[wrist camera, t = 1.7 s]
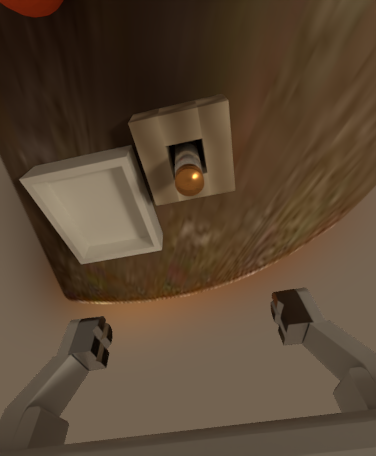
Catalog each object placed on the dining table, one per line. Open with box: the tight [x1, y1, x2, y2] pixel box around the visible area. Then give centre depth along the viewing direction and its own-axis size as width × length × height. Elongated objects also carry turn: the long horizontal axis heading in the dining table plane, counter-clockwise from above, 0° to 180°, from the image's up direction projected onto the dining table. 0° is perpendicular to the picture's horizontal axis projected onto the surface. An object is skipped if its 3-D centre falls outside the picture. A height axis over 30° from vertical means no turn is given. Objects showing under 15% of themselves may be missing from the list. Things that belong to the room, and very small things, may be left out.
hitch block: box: [128, 94, 235, 206], centre depth 30 cm, size 11×11×4 cm
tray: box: [19, 145, 163, 264], centre depth 34 cm, size 14×16×4 cm
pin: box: [175, 140, 204, 196], centre depth 27 cm, size 3×3×10 cm
